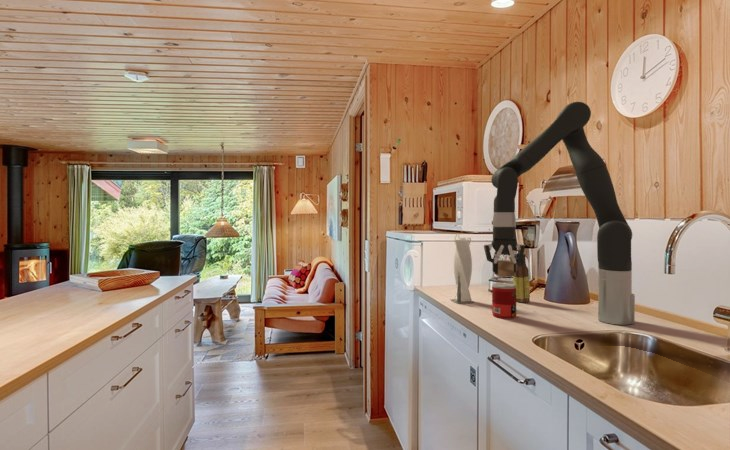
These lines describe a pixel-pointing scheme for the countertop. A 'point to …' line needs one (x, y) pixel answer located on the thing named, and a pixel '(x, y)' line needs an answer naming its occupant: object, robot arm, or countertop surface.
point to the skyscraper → (462, 270)
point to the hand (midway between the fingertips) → (504, 273)
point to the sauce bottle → (521, 281)
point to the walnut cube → (505, 268)
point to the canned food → (504, 300)
